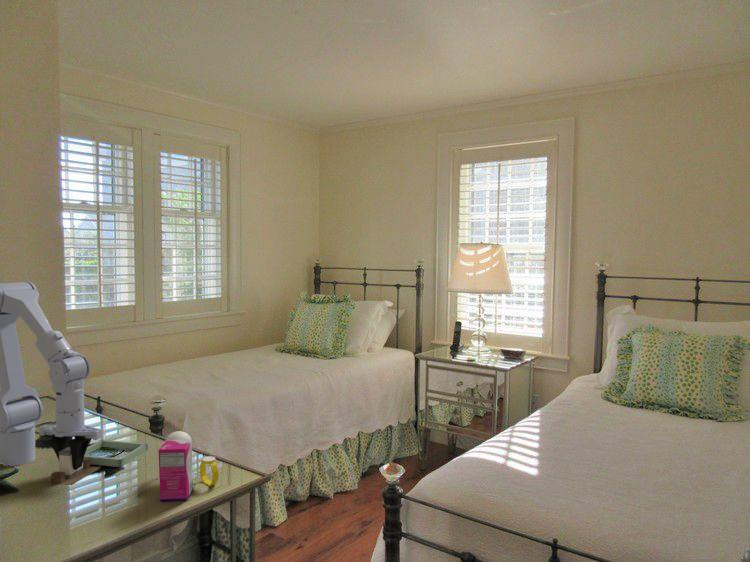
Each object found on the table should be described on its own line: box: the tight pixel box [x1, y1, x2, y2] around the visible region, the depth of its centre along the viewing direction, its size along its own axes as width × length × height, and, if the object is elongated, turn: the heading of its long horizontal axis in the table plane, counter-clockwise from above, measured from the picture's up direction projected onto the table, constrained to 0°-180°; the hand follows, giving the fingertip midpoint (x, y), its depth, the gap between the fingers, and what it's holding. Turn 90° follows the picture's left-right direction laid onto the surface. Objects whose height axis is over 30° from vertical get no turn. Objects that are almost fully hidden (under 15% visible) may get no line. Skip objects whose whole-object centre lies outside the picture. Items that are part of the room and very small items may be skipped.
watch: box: [199, 456, 219, 487], centre depth 126 cm, size 6×3×6 cm, turn 47°
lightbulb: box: [164, 430, 193, 442], centre depth 128 cm, size 6×6×11 cm
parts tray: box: [84, 439, 149, 468], centre depth 139 cm, size 13×11×2 cm
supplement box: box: [157, 438, 194, 503], centre depth 120 cm, size 6×6×12 cm
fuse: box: [58, 447, 83, 479], centre depth 128 cm, size 3×4×6 cm, turn 170°
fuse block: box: [39, 458, 102, 486], centre depth 128 cm, size 8×10×3 cm
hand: (71, 467), depth 128 cm, fingers closed on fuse, 3 cm apart
